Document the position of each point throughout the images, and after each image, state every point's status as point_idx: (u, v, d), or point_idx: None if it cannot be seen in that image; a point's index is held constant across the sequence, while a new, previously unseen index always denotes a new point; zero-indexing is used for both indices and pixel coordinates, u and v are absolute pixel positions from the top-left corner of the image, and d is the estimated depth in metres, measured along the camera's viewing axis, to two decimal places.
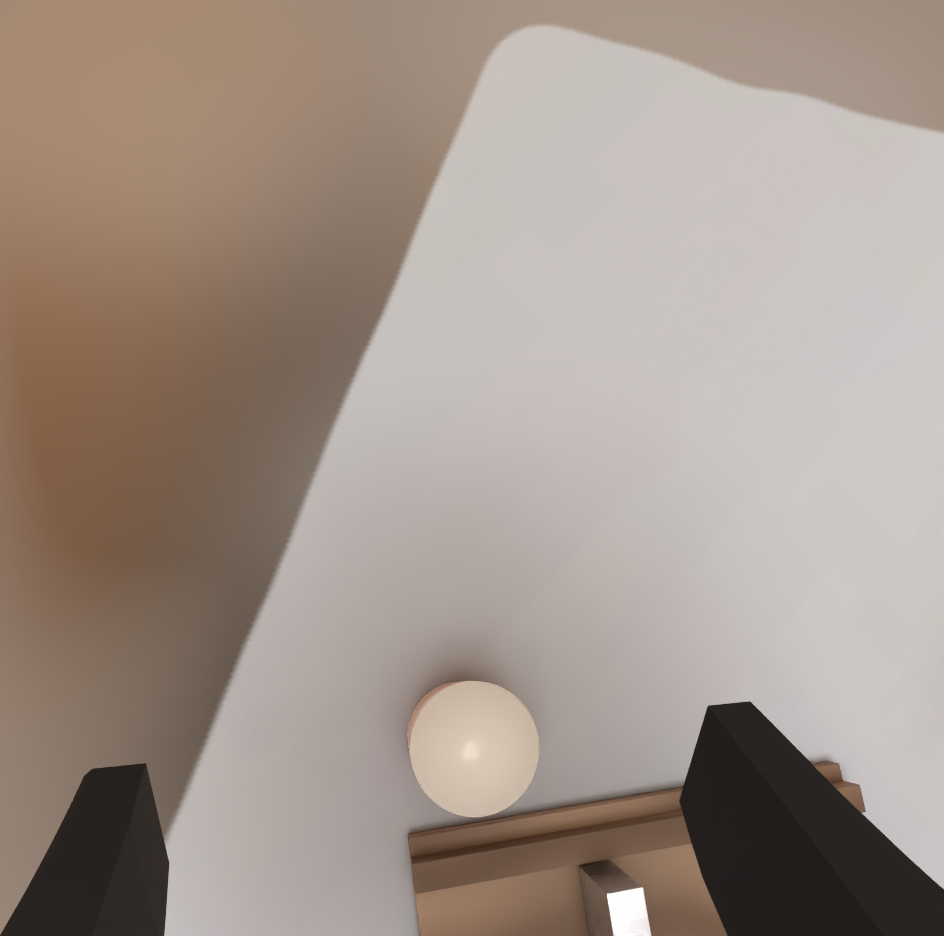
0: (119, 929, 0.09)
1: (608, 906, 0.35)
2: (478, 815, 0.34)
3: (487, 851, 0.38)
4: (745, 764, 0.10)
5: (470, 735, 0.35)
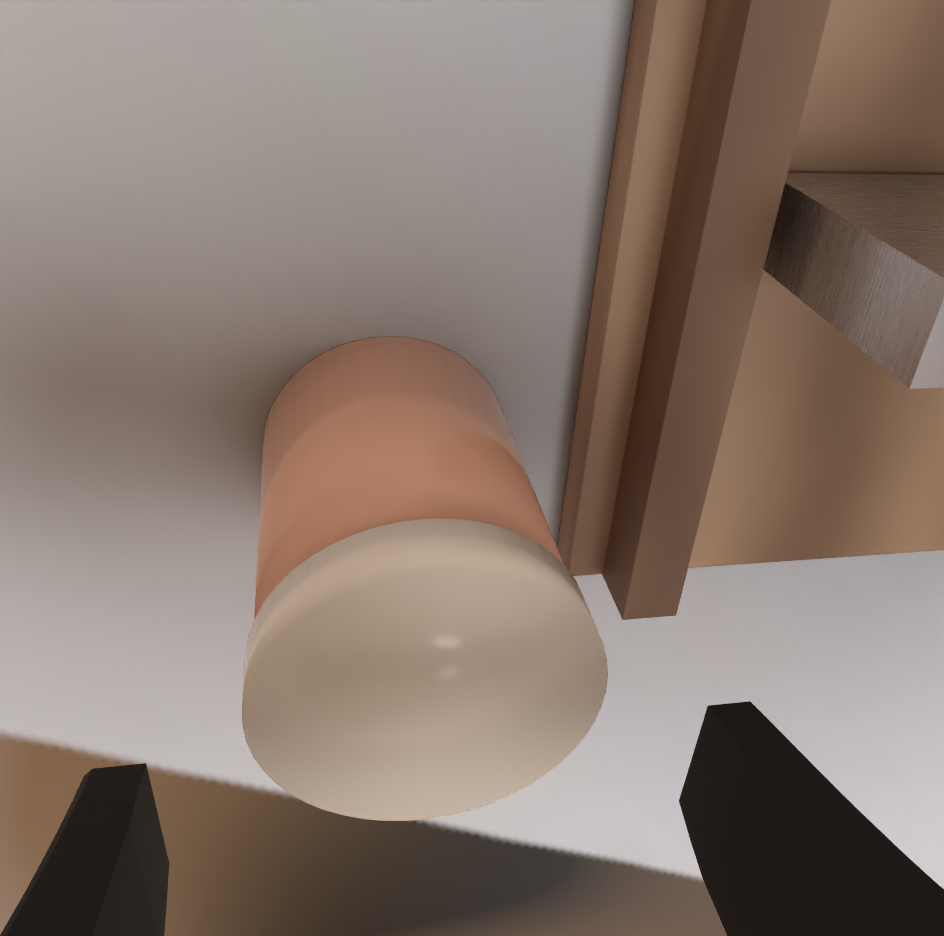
0: (119, 929, 0.09)
1: (936, 382, 0.12)
2: (599, 704, 0.13)
3: (650, 491, 0.17)
4: (745, 764, 0.10)
5: (394, 716, 0.12)
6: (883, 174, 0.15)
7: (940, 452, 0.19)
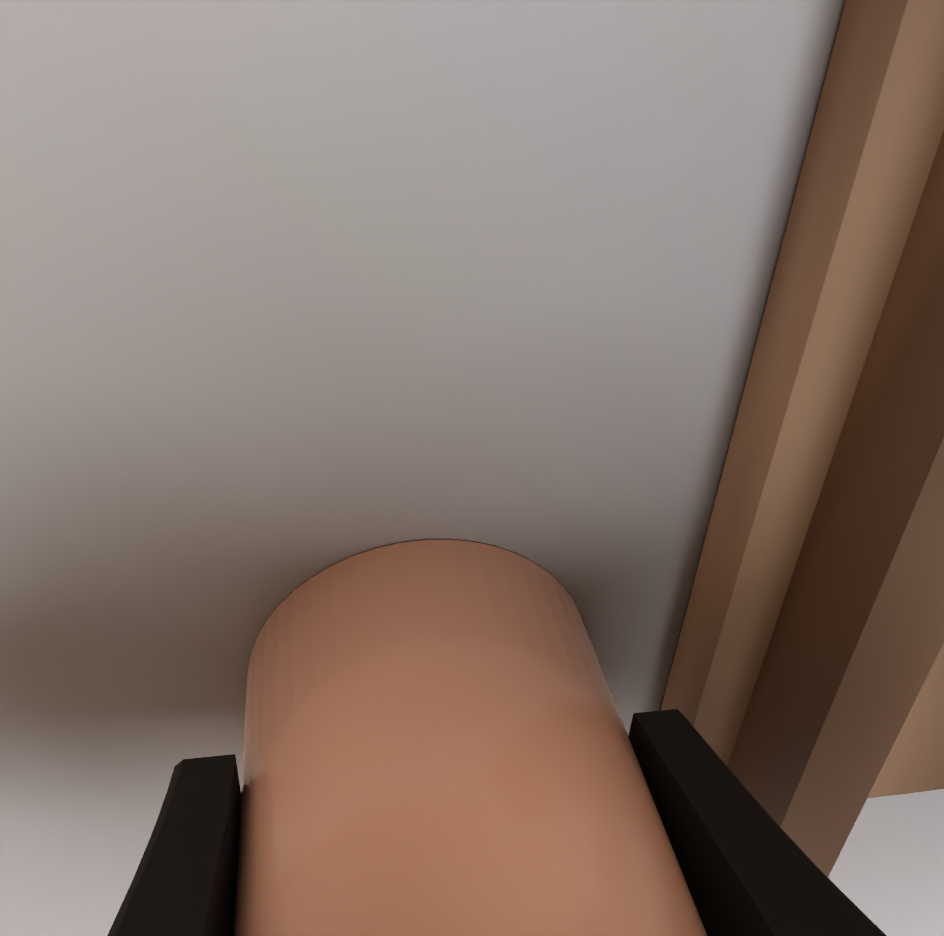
0: (221, 915, 0.09)
1: None
2: None
3: (807, 763, 0.11)
4: (665, 773, 0.10)
5: None
6: None
7: None
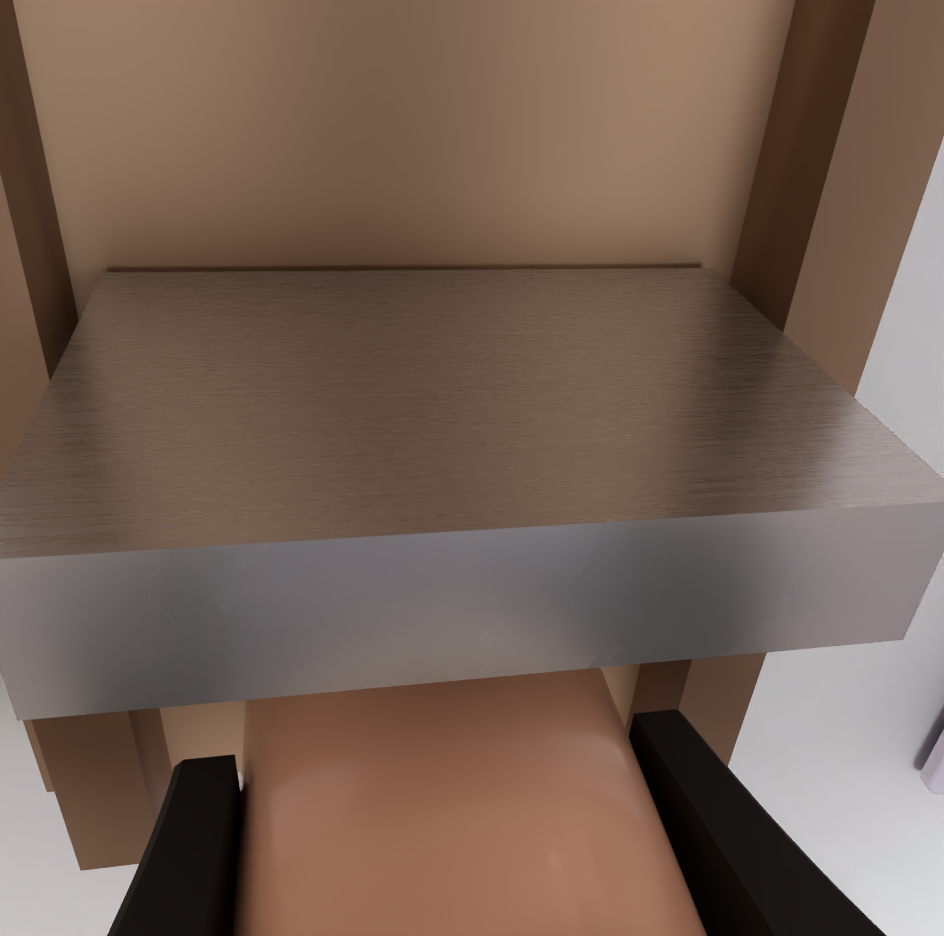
0: (221, 915, 0.09)
1: None
2: None
3: (34, 722, 0.11)
4: (665, 773, 0.10)
5: None
6: (303, 271, 0.10)
7: None
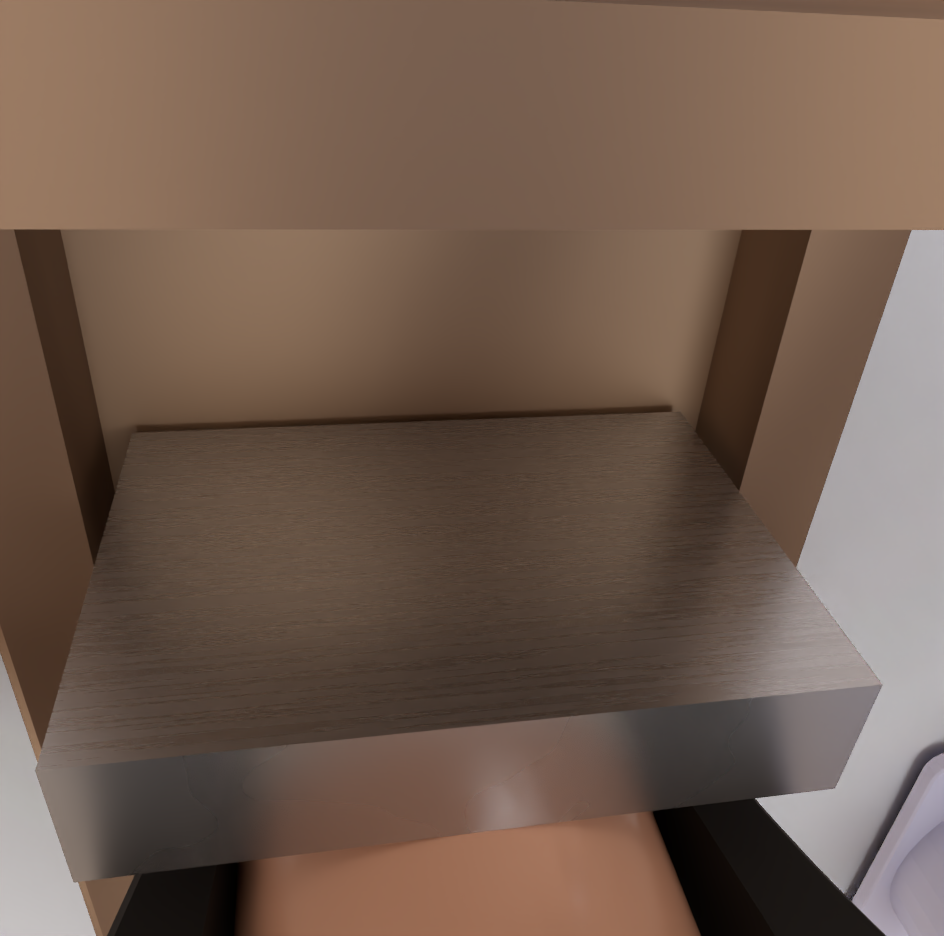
0: (221, 915, 0.09)
1: None
2: None
3: None
4: None
5: None
6: (312, 426, 0.11)
7: None
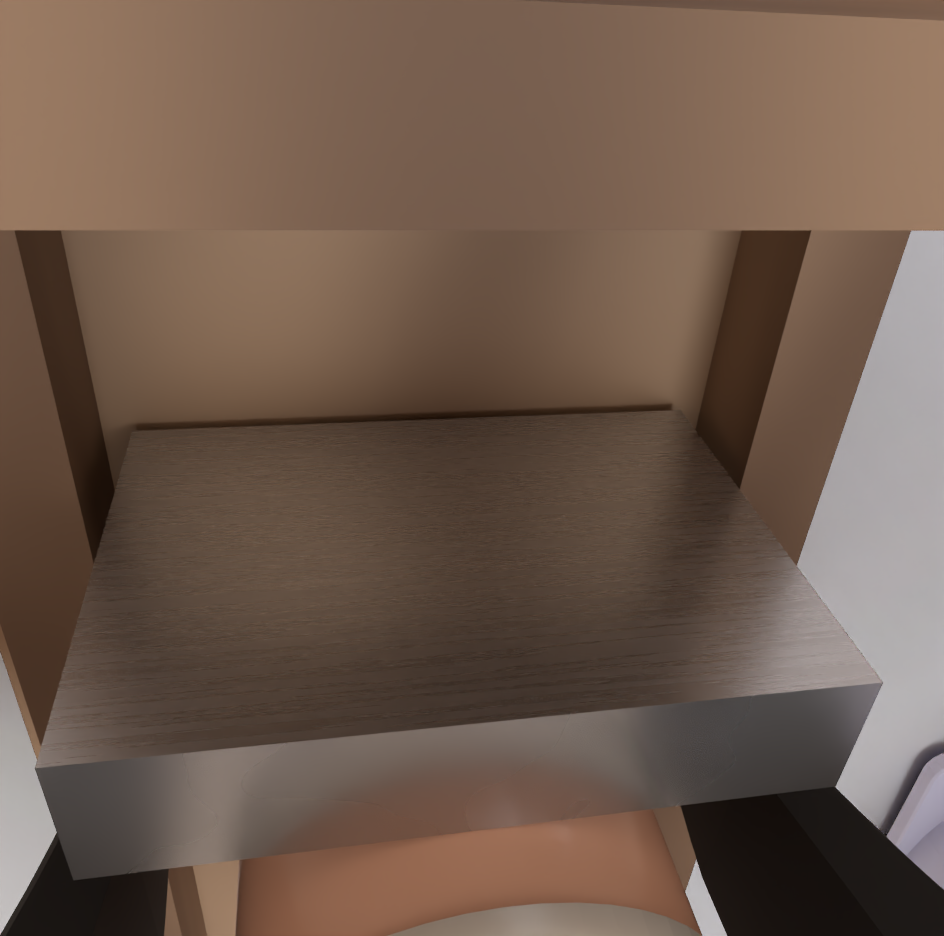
0: (119, 929, 0.09)
1: None
2: None
3: None
4: None
5: None
6: (312, 424, 0.11)
7: None
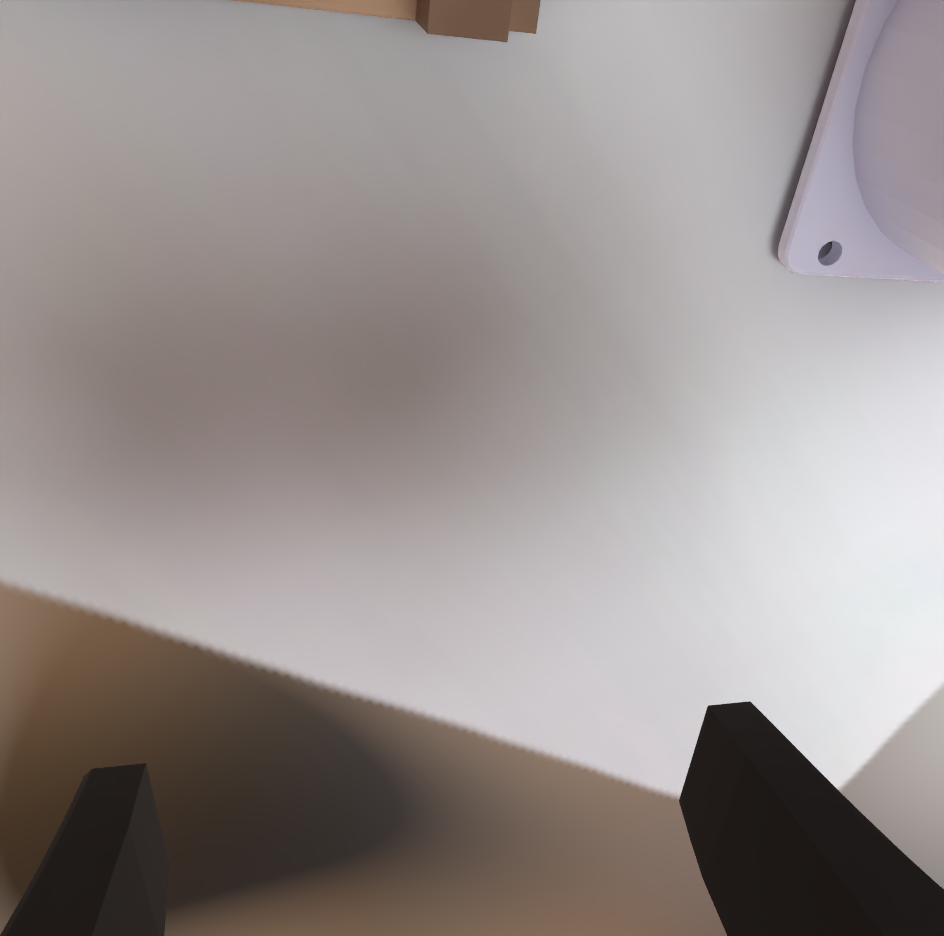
0: (119, 929, 0.09)
1: None
2: None
3: None
4: (745, 764, 0.10)
5: None
6: None
7: None
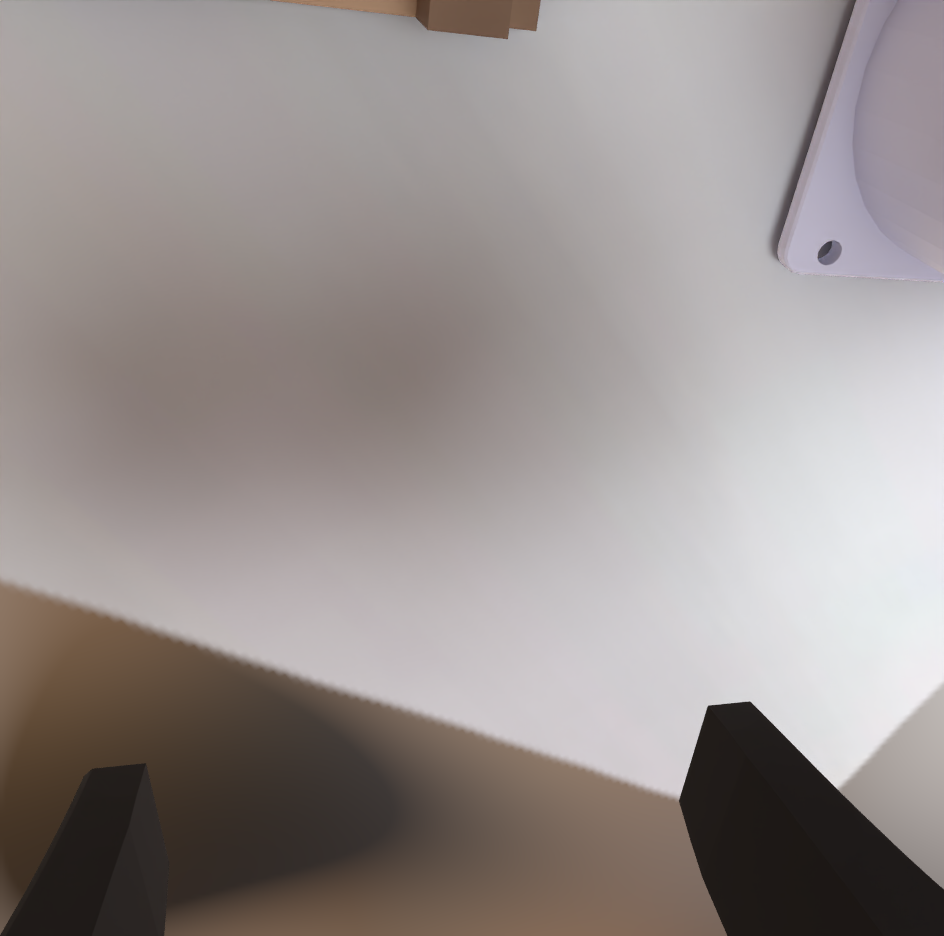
0: (119, 929, 0.09)
1: None
2: None
3: None
4: (745, 764, 0.10)
5: None
6: None
7: None
